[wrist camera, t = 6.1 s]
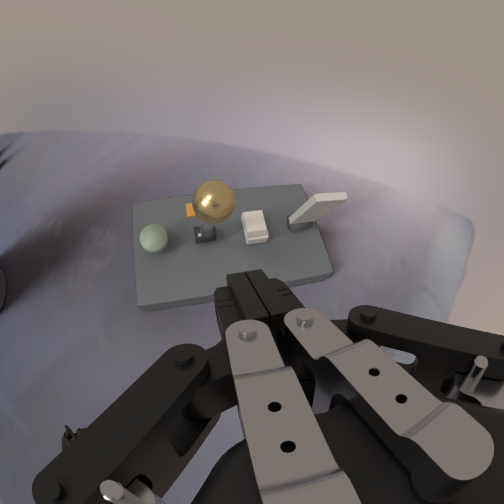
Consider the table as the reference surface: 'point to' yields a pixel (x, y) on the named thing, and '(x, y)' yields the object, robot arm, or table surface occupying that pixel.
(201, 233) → the brass lever
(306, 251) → the control panel
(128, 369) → the table surface
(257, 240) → the white rocker switch
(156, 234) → the push button
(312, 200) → the pale grey paddle
